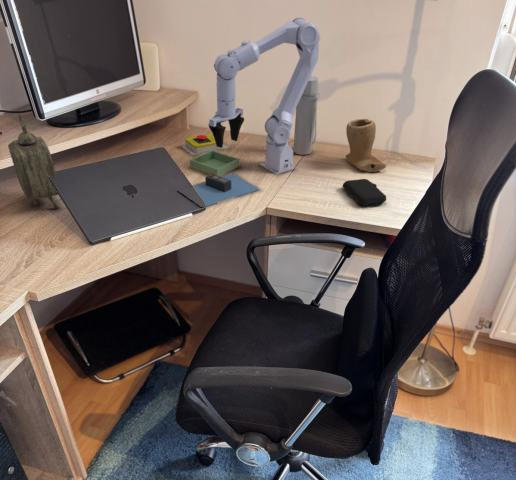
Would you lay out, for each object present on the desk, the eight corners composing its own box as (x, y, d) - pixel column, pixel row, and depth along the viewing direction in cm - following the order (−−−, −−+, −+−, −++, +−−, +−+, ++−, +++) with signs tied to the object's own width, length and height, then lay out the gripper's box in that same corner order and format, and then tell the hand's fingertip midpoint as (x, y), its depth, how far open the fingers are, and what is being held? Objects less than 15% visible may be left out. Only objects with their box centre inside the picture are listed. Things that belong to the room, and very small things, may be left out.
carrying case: (391, 204, 154) (369, 185, 165) (393, 195, 152) (370, 176, 163) (359, 208, 152) (339, 188, 162) (361, 199, 150) (341, 179, 160)
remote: (231, 188, 159) (231, 179, 157) (224, 192, 157) (224, 183, 155) (212, 181, 162) (212, 172, 160) (205, 185, 160) (205, 176, 158)
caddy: (239, 167, 172) (239, 158, 170) (217, 178, 165) (217, 169, 163) (212, 158, 178) (212, 150, 176) (190, 168, 171) (189, 159, 169)
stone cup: (336, 159, 180) (341, 115, 170) (365, 155, 184) (372, 113, 174) (355, 176, 170) (362, 130, 160) (386, 172, 173) (395, 127, 163)
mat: (259, 190, 160) (259, 189, 159) (201, 208, 149) (201, 207, 149) (234, 175, 168) (234, 174, 167) (177, 191, 157) (177, 190, 157)
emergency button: (180, 135, 182) (217, 129, 188) (181, 147, 185) (217, 141, 191) (191, 143, 176) (228, 137, 182) (191, 156, 179) (228, 149, 185)
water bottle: (287, 151, 184) (292, 77, 168) (302, 146, 189) (308, 73, 172) (305, 159, 180) (312, 83, 163) (320, 154, 184) (328, 79, 167)
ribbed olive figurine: (65, 210, 146) (42, 121, 129) (33, 216, 142) (5, 126, 126) (53, 190, 155) (31, 105, 138) (23, 196, 152) (-4, 109, 135)
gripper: (230, 91, 161) (231, 134, 170) (201, 101, 152) (203, 146, 161) (248, 95, 158) (247, 139, 167) (218, 106, 149) (220, 152, 158)
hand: (227, 143), depth 164 cm, fingers open, 7 cm apart
